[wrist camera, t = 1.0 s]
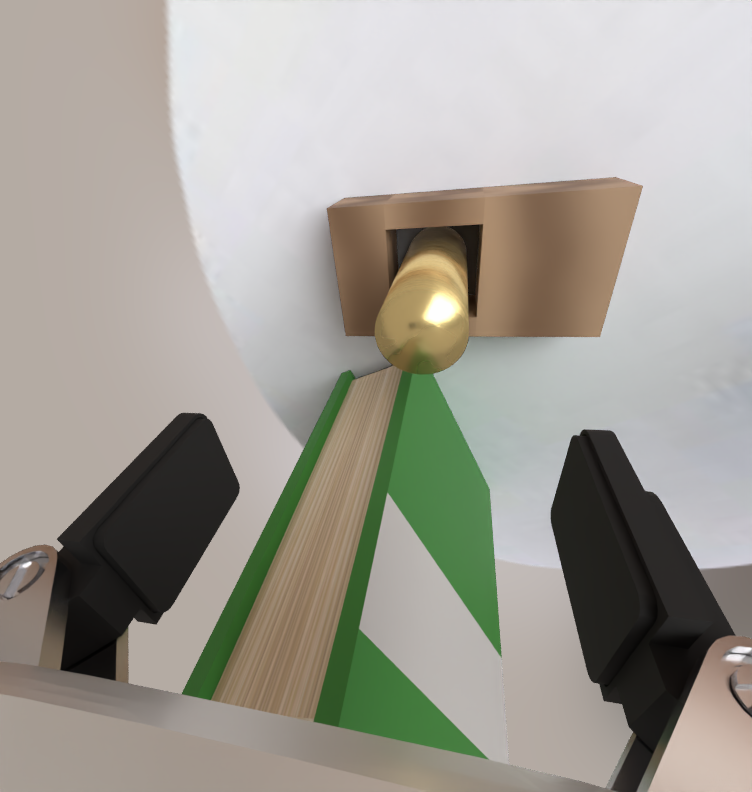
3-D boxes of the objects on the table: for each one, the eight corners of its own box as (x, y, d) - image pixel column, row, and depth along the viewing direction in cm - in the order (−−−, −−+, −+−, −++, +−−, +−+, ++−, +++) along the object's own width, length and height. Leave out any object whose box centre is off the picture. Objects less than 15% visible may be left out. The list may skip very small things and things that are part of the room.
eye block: (615, 177, 21) (642, 185, 18) (582, 311, 25) (600, 336, 22) (344, 198, 24) (326, 208, 21) (358, 313, 29) (345, 335, 26)
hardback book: (341, 373, 32) (167, 721, 13) (418, 345, 29) (334, 743, 10) (422, 501, 40) (385, 834, 21) (489, 489, 37) (516, 866, 18)
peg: (468, 223, 24) (471, 287, 14) (465, 285, 26) (466, 375, 16) (406, 227, 24) (370, 289, 15) (408, 286, 27) (378, 373, 17)
